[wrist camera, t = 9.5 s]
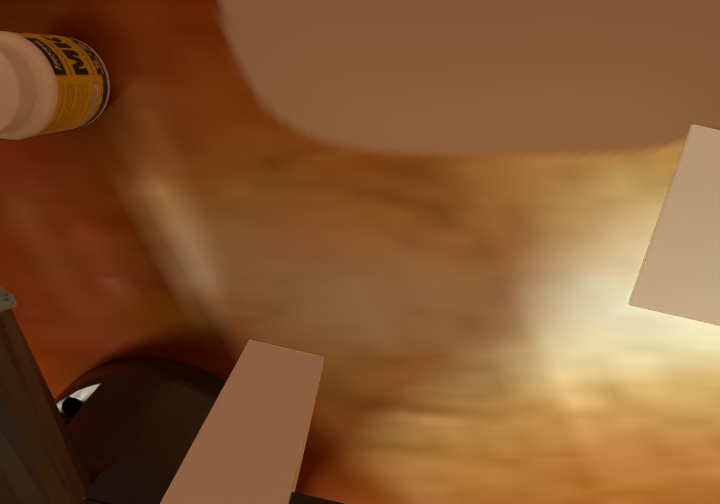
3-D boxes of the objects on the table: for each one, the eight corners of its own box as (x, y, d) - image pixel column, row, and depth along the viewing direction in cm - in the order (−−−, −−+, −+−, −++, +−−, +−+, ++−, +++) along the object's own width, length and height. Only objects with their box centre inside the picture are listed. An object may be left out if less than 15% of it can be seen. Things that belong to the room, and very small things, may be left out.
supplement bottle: (127, 65, 36) (46, 67, 28) (91, 144, 37) (4, 167, 29) (44, 17, 36) (-62, 5, 27) (10, 98, 37) (-100, 109, 29)
